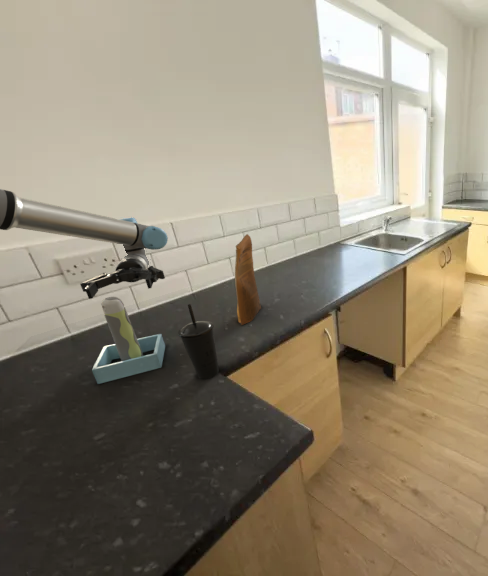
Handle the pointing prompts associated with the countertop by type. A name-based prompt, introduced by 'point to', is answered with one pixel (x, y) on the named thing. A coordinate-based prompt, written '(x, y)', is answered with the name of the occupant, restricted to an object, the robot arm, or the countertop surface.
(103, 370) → the blue rectangular frame
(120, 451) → the countertop surface
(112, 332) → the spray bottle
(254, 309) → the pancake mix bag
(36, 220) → the robot arm
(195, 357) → the drinking cup
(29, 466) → the countertop surface
